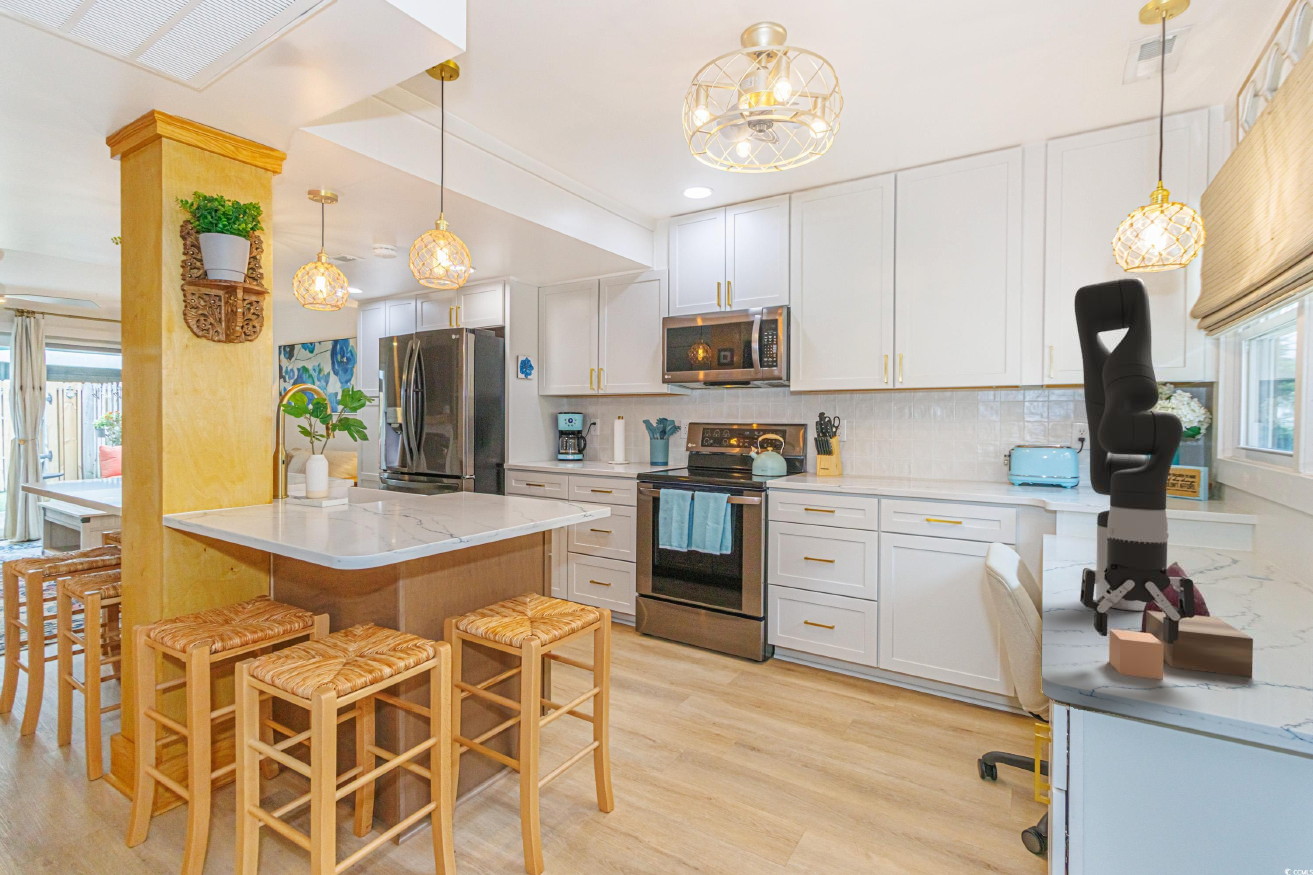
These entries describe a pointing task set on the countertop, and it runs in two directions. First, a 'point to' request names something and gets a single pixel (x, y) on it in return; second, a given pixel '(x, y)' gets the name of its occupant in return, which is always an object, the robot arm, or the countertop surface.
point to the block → (1136, 653)
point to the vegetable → (1176, 597)
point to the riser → (1205, 645)
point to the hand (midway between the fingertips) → (1134, 638)
